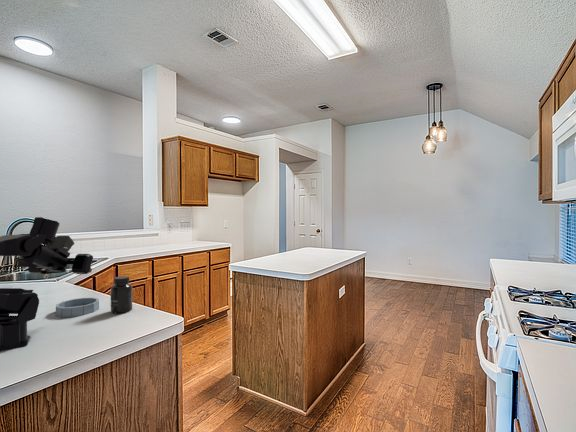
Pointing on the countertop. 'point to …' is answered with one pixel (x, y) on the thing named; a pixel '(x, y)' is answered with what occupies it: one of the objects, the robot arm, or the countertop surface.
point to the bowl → (77, 307)
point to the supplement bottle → (121, 295)
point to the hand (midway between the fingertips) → (78, 270)
